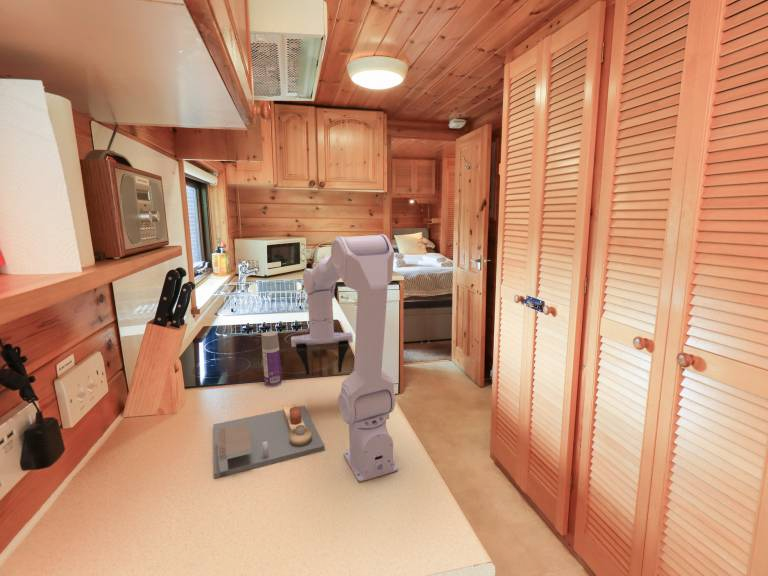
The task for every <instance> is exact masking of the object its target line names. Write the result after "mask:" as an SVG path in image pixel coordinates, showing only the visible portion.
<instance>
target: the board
mask: <svg viewBox="0 0 768 576" xmlns="http://www.w3.org/2000/svg"><path fill="white" fill-rule="evenodd" d="M298 407H300V408H301V418H302V420H303V422H304V424H305V427H306V428H309V429H311V431H312V440H311V442H309V443H308V444H306V445H302V446H295V445H292V444H291V443H290V437H289V434H290V429H289V427H288V424H287V421H286V418H285V416H284V413H283V409H282V410H276V411H271V412H266V413H262V414H257V415H253V416H247V417H243V418H237V419H233V420H229V421H224V422H218V423H213V427H212V428H213V429H212V431H213V434H212V435H213V436H212V437H213V478H214V479H219V478H221V477H226V476H229V475H234V474H237V473H242V472H245V471H250V470H253V469H257V468H261V467H265V466H268V465H271V464H272V465H273V464H275V463H276V464H277V463H281V462H283V461H288V460H291V459H296V458H300V457H303V456H307V455H312V454H316V453H318V452H322V451H325V449H326V448H325V444H324V442H323V439H322V437H321V436H320V434H319V431H318V430H317V427H316V426H315V424H314V422H313V419H312V418H311V415H310V414H309V411H308V410H307V408H306V406H305V405H300V406H298ZM246 423H248V428H249V434H250V440H251V445H252V453H250V454H246V455H242V456H238V457H234V458H230V459H228V471H223V474H225V473H226V474H225V475H226V476H225V475H222V472H220V470H219V461H218V439H217V430H218V429H223V428H227V427H232V426H237V425H241V424H246ZM224 472H225V473H224ZM227 472H228V473H227Z"/></svg>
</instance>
